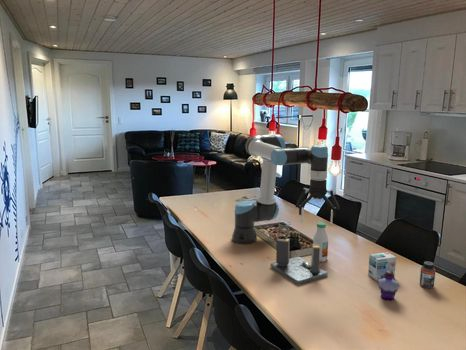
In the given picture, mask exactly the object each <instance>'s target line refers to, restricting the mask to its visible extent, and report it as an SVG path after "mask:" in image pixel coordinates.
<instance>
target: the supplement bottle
mask: <svg viewBox="0 0 466 350" xmlns="http://www.w3.org/2000/svg"><path fill="white" fill-rule="evenodd" d="M434 264H435V263H434V262H431V261H429V260H428V261H424V262H423V265H421V267H420V274H419V286H420V287H421V288H424V289H429V290H431V289H433V288H435V280H436V279H435V278H436V268H435V267H434Z"/></svg>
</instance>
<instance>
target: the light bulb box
mask: <svg viewBox="0 0 466 350" xmlns="http://www.w3.org/2000/svg"><path fill="white" fill-rule="evenodd" d="M368 258H369V260H368V272H367V275H368V276H369V277H371V278H372V279H373V280H375V281H379V279H383V278H384V273H386V271H388V270H389V271H392V272H393V274H394V277H395V275H396V264H397V257H396V256H395V255H393V254H392V253H390V252H388V251H386V252H378V253H370V254H369V256H368Z"/></svg>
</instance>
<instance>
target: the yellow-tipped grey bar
mask: <svg viewBox="0 0 466 350" xmlns="http://www.w3.org/2000/svg"><path fill="white" fill-rule="evenodd" d="M290 242H291V241H290V238H286V239H283V238H277V239H276V252H275V253H276V254H275V255H276V257H275V258H276V259H275V262H276V263H278V265H279V266H281V267H285V266H287V265H288V264H289V259H290V244H291V243H290Z"/></svg>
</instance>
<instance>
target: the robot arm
mask: <svg viewBox="0 0 466 350" xmlns="http://www.w3.org/2000/svg"><path fill="white" fill-rule="evenodd" d="M328 148H329V147H328V146H326V145H322V144H318V145H317V144H315V145H312V146H310V147H309V146H300V147H296V148H293V147H292V148H286V141H285V139H284V137H283V136H282V135H281V134H276V133H275V134H274V133H273V134H271V133H270V134H256V135H252V136H250V137H249V138H248V139H247V140H246V143H245V151H246V152H247V153H248V154H249V155H250V156H252V157H260V158H261V159H262V165H261V175H260V176H261V177H260V187H259V196H258V197H257V198H256V202H254V201H253V200H241V201H239V202H237V203H236V204H235V205H234V229H233V232H232V235H231V241H232V242H234V241H235V242H234V243H236V242H238V243H237V244H240V243H250V244H253V243H252V242H254V243H255V241H256V240H257V241H258V236H257V232H256V229H255V223H259V222H266V221H267V222H268V221H270V222H271V221H273V220H275V219H277V217H278V215H279V211H280V207H279V204H278V202H277V201H276V198H274V197H275V187H276V182H277V181H276V180H277V179H276V178H277V168H278V166H286V165H298V164H299V165H300V164H308V165H310V170H309V171H310V173H309V177H310V179H309V188H307V187H303V189H302V193H301V194H300V197H299V198H298V200H297V202H296V204H295V205H294V207H295V208H297V209H298V215H299V216H300V222H301V223H303V222H304V210H305V209H304V206H306V205H307V204H308V203H309V201H311V199H314V200H317V199H318V200H322V199H323V201H324V202H325V203H326V204H327V205H328V207H330V209H331V210H330V226H331V225H333V218H336V211H339V210H340V204H339V203H338V200H337V199H336V196H335V194H334V190H333V189H327V179H328V161H329V160H328V157H329V149H328ZM307 193H309V196H307V197H306V199H304V201H302V200H303V198H304V197H305V195H306V194H307ZM327 194H328V195H330V198H331V200H332V202H333V204H332V202H331V200H330V199H329V198H328V197H327ZM300 203H301V204H300ZM257 241H256V242H257Z"/></svg>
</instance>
